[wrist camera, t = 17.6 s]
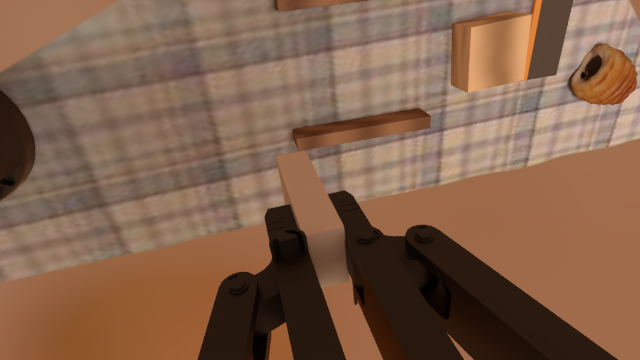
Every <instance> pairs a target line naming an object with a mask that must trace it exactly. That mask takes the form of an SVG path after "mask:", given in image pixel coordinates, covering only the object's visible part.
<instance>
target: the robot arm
mask: <svg viewBox="0 0 640 360" xmlns="http://www.w3.org/2000/svg"><path fill="white" fill-rule="evenodd" d="M34 155H35V148H34V141H33V137H32V134H31V131H30V128H29V126H28V124H27V122H26V121H25V119H24V117H23V116H22V114H21V113H20V111H19V110H18V109H17V107H16V106H15V105H14V104H13V103H12V102H11V101H10V100H9V99H8V98H7V97H6V96H5V95H4V94H3V93H2V92H1V91H0V201H1V200H2V199H4V198H6V197H7V196H8V195H10V194H11V193H12V192H13V191H14V190H15V189H16V188H17V187H18V186H19V185H20V184H21V183H22V182H23V181H24V180H25V179H26V177H27V176H28V174H29V173H30V171H31V168H32V166H33V162H34ZM276 160H277V165H278V170H279V175H280V180H281V185H282V190H283V195H284V201H285V204H286V205H284V206H279V207H275V208H271V209H268V210H267V212H266V215H265V222H266V226H267V232H268V236H269V246H270V250H271V254H272V260H271V262H270V264H269V265H268V266H267V267H266V268H265V269H264V270H263V271H261V272H259V273H258V274H256V275H253V274H251V273H249V272H238V273H234V274H232V275H230V276H228V277H227V278H226V279H225V280H224V281H222V283H221V285H220V287H219V289H218V292H217V296H216V299H215V302H214V306H213V309H212V313H211V316H210V320H209V323H208V326H207V330H206V333H205V336H204V340H203V343H202V347H201V350H200V353H199V357H198V360H269V351H270V343H271V331H272V330H274V329H275V328H277V327H279V326H280V325H282V324H283V323H285V322H286V324H287V329H288V334H289V339H290V343H291V348H292V353H293V358H294V360H346V358H345V355H344V352H343V350H342V347H341V344H340V341H339V338H338V335H337V332H336V329H335V327H334V323H333V321H332V318H331V315H330V312H329V309H328V306H327V303H326V300H325V298H324V295H323V291H322V288H326V287H329V286H333V285H337V284H340V283H343V282H347V281H349V274H350V276H351V278H352V282H353V294H354V303H355V305H356V304H358V303H357V300H358V302H359V305H360V307H361V309H362V312H363V314H364V316H365V318H366V321H367V323H368V325H369V328H370V330H371V332H372V334H373V337H374V339H375V341H376V344H377V346H378V348H379V351H380V353H381V355H382V358H383V360H464V359H463V357H462V356H461V354H460V353H459V351H458V350H457V348H456V347H455V345H454V343H453V342H452V340H451V339H450V337H449V336H448V334H449V335H450V336H451V337H452V338H453V339H454V340H455V341H456V342H457V343H458V344H459V345H460V346H461V347H462V348H463V349H464V350H465V351H466V352H467V353H468V354H469V355H470V356H471V357H472V358H473V359H474V360H618V359H616V358H615V357H613V356H612V355H611V354H609V353H608V352H607V351H605V350H604V349H602V348H601V347H600V346H598V345H597V344H595V343H594V342H593V341H591V340H590V339H589V338H587V337H586V336H584V335H583V334H582V333H580V332H579V331H578V330H576V329H575V328H573V327H572V326H571V325H569V324H568V323H567V322H565V321H564V320H562V319H561V318H560V317H558V316H557V315H555V314H554V313H553V312H551V311H550V310H549V309H547V308H546V307H544V306H543V305H542V304H540V303H539V302H538V301H536V300H535V299H533V298H532V297H531V296H529V295H528V294H526V293H525V292H524V291H522V290H521V289H519V288H518V287H517V286H515V285H514V284H513V283H511V282H510V281H509V280H507V279H506V278H504V277H503V276H501V275H500V274H499V273H497V272H496V271H495V270H493V269H492V268H491V267H489V266H488V265H486V264H485V263H484V262H482V261H481V260H480V259H478V258H477V257H475V256H474V255H473V254H471V253H470V252H469V251H467V250H466V249H464V248H463V247H462V246H460V245H459V244H457V243H456V242H455V241H453V240H452V239H451V238H449V237H448V236H446V235H445V234H444V233H442V232H441V231H440V230H438V229H436V228H434V227H432V226H428V225H416V226H413V227H411V228H409V229H408V230H407V232H406V235H405V236H386V235H383V233H382V232H381V231H380V230H379V229H376V228H374V227H372V226H371V224H370V222H369V221H368V219H367V218H366V216H365V215H364V213H363V211H362V210H361V209H360V206H359V205H358V203H357V202H356V200H355V198H354V197H353V195H351V194H350V193H348V192H346V191H345V190H344V191H340V192H336V193H331V194H327V192H326V190H325V188H324V186H323V184H322V182H321V180H320V179H319V177H318V175H317V173H316V171H315V169H314V167H313V165H312V163H311V161H310V159H309V157H308V155H307V153H306V151H305V150H304V151H299V152H294V153H290V154H285V155H280V156H276ZM446 332H447V333H448V334H447V333H446Z"/></svg>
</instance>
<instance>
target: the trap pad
mask: <svg viewBox="0 0 640 360" xmlns="http://www.w3.org/2000/svg"><path fill="white" fill-rule="evenodd" d="M572 3H573V0H534V2H533V8H532V13H531V14H532V18H531V26H530V34H529V42H528V50H527V58H526V66H525V74H524V80H529V79H535V78H541V77H547V76H553V75H556V73H557V69H558V64H559V60H560V56H561V51H562V47H563V42H564V38H565V34H566V29H567V25H568V21H569V16H570V12H571V7H572ZM520 81H523V80H520Z"/></svg>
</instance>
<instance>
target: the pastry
mask: <svg viewBox="0 0 640 360" xmlns="http://www.w3.org/2000/svg"><path fill="white" fill-rule="evenodd" d="M635 69H636V68H635V66H634V65H633V64H632V63H631V60H630V59H629V58H628V57H626V56H625V54H624V52H622V51H621V50H618V49H614V48H611V47H609V46H608V44H601V45H598V46H597V47H594V48H593V49H592V51H590V52H589V53H588V54H587V55H586V56H585V58H584V60H583V61H582V63H581V65H580V67H579V69H578V70H577V72H576V73H575V74H574V76H573V77H572V80H571V87H572V91H573V93H574V94H575V96H576V97H577V98H579V99H582V100H585V101H587V102H589V103H591V104H598V105H600V104H602V105H606V104H611V105H614V104H619V103H621V102H623V101H624V100H625V99H626V98H627V97H628V96H629V94H630V93H632V92H633V91H634V90H635V87H636V84H637V80H636V76H637V73H636V71H635Z"/></svg>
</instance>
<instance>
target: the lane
mask: <svg viewBox="0 0 640 360" xmlns="http://www.w3.org/2000/svg"><path fill="white" fill-rule="evenodd" d="M360 1H368V0H275V7H276V10H278V11H286V10H295V9H303V8H311V7H319V6H327V5H335V4H343V3H351V2H360ZM430 121H431V116H430V115H429V114H427V113H426V112H424V111H423V110H421V109H420V108H418V109H412V110H406V111H400V112H394V113H388V114H382V115H376V116H370V117H364V118H359V119H353V120H347V121H341V122H335V123H329V124H323V125H317V126H311V127H305V128H299V129H293V135H294V141H295V144H296V146H297V149H298V151H303V150H308V149H314V148H320V147H325V146H331V145H337V144H342V143H348V142H354V141H359V140H365V139H371V138H376V137H382V136H388V135H393V134H399V133H405V132H410V131H416V130H421V129H427V128H430Z"/></svg>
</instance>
